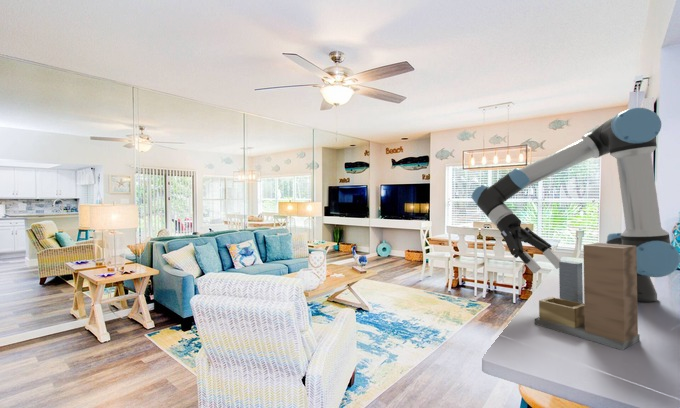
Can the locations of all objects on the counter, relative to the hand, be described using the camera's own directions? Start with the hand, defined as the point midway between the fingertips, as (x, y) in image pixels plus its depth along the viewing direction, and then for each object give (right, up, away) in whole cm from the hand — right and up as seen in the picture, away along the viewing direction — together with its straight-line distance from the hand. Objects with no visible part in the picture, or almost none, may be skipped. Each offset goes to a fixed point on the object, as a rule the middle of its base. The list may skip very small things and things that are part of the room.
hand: (549, 268), depth 106 cm
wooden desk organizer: (-2, -13, -18) cm, 23 cm away
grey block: (+4, -13, -5) cm, 14 cm away
